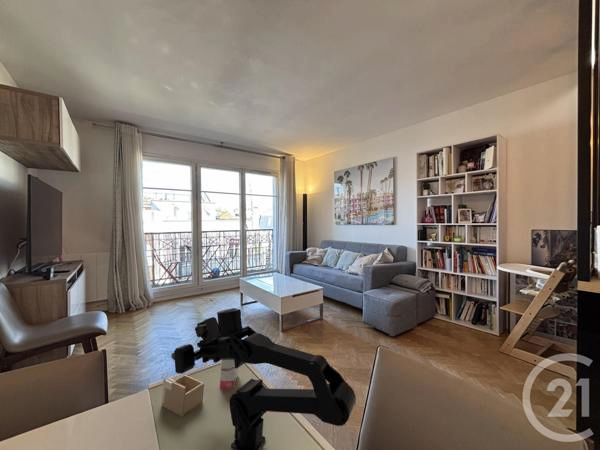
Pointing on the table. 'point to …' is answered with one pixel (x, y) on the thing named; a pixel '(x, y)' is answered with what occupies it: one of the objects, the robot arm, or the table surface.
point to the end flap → (173, 396)
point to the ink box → (228, 374)
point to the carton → (191, 392)
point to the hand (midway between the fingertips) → (185, 349)
